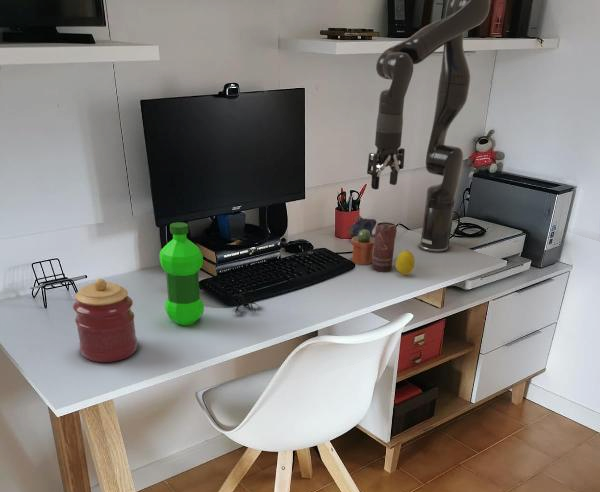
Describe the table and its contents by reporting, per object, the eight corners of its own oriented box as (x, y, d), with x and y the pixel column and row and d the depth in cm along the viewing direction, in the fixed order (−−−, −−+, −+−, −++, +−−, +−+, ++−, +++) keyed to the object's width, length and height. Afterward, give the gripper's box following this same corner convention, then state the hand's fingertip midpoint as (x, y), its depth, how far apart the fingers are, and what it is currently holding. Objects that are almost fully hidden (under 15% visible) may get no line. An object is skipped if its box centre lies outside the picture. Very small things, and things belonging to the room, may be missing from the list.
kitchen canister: (73, 362, 148) (61, 289, 139) (89, 337, 159) (78, 268, 150) (131, 364, 148) (122, 291, 139) (142, 338, 159) (135, 269, 150)
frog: (340, 238, 231) (341, 216, 227) (365, 232, 237) (366, 211, 233) (359, 245, 224) (361, 223, 220) (384, 239, 231) (386, 217, 227)
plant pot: (361, 255, 216) (363, 224, 211) (379, 261, 212) (382, 230, 206) (345, 260, 212) (347, 229, 206) (363, 266, 207) (366, 235, 201)
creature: (264, 314, 176) (245, 299, 180) (267, 297, 173) (248, 282, 177) (242, 322, 172) (223, 307, 175) (245, 305, 168) (225, 290, 172)
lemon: (415, 274, 202) (418, 249, 198) (409, 280, 198) (413, 254, 194) (397, 271, 204) (400, 246, 200) (392, 276, 200) (395, 251, 196)
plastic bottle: (157, 318, 169) (149, 223, 156) (193, 309, 175) (188, 216, 162) (176, 333, 163) (169, 234, 150) (213, 323, 168) (209, 226, 155)
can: (393, 272, 203) (398, 227, 196) (372, 271, 203) (377, 227, 196) (391, 265, 208) (396, 222, 201) (371, 264, 208) (375, 221, 201)
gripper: (383, 134, 183) (378, 193, 191) (414, 128, 191) (408, 185, 200) (363, 130, 187) (359, 188, 196) (394, 125, 196) (389, 180, 204)
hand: (384, 186), depth 198 cm, fingers open, 8 cm apart
